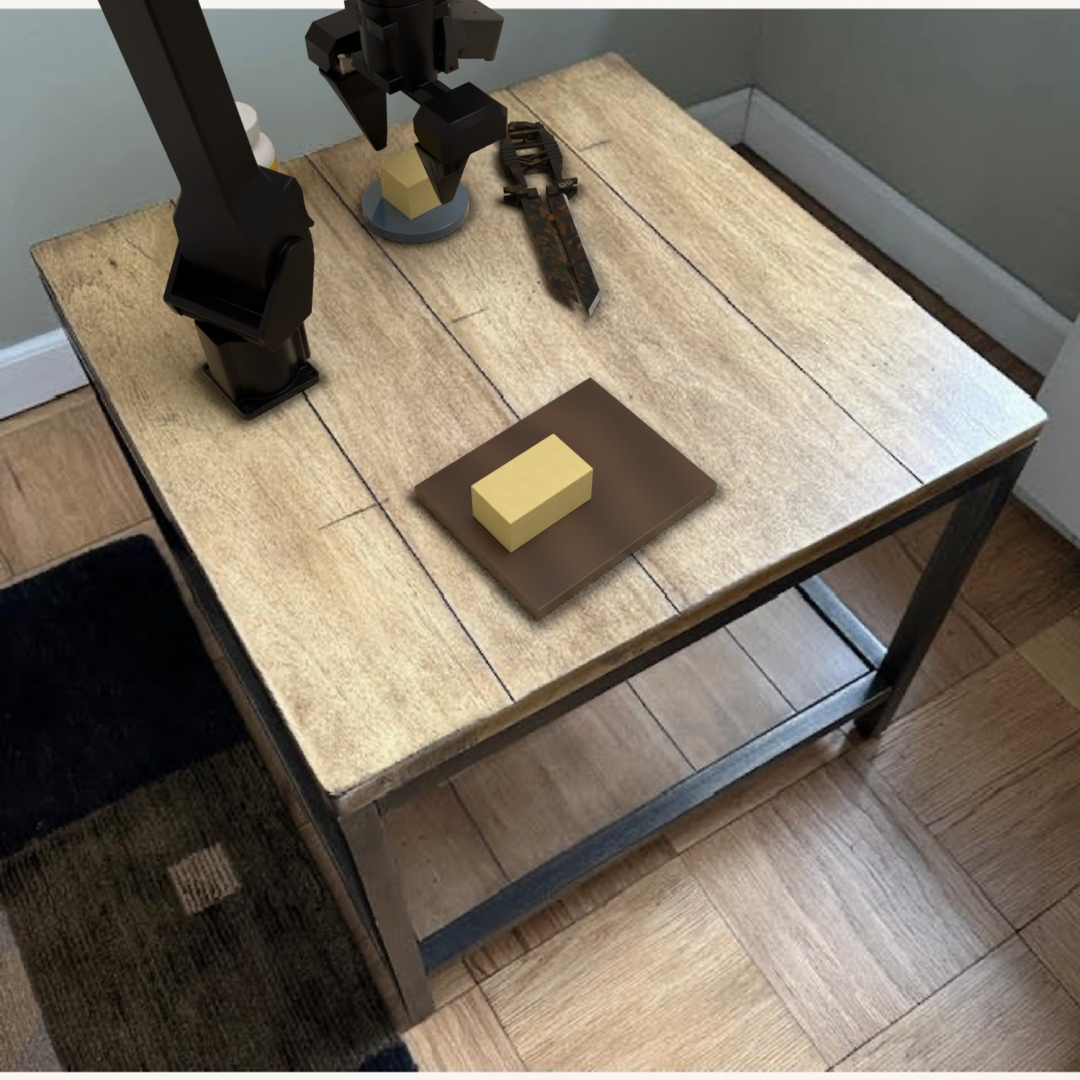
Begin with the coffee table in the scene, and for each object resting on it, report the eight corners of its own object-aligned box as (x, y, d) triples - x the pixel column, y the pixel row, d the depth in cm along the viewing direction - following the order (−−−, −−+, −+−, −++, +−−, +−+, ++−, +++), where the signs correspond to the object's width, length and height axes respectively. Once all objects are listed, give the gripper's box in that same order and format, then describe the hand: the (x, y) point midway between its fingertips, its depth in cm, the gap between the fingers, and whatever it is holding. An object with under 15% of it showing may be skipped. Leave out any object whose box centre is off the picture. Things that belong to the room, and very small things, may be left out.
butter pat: (410, 220, 91) (407, 187, 88) (382, 197, 92) (378, 164, 90) (451, 199, 92) (448, 167, 90) (422, 177, 94) (419, 144, 91)
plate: (404, 258, 89) (403, 248, 89) (341, 204, 93) (340, 194, 93) (490, 213, 93) (490, 203, 92) (426, 163, 97) (425, 153, 96)
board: (537, 621, 69) (537, 611, 68) (415, 497, 75) (413, 486, 74) (715, 494, 75) (717, 483, 74) (589, 388, 81) (590, 376, 80)
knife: (608, 320, 85) (609, 307, 84) (526, 327, 85) (526, 314, 84) (561, 129, 100) (562, 116, 99) (491, 134, 99) (491, 120, 98)
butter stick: (510, 553, 71) (510, 524, 68) (472, 515, 73) (470, 485, 70) (591, 498, 74) (593, 468, 71) (552, 463, 75) (553, 432, 73)
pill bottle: (242, 273, 88) (210, 153, 79) (202, 235, 91) (166, 115, 82) (307, 240, 91) (282, 120, 82) (266, 204, 93) (238, 84, 84)
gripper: (566, 2, 77) (560, 190, 89) (408, -96, 85) (423, 89, 98) (439, 58, 72) (452, 247, 85) (285, -50, 81) (318, 137, 93)
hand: (413, 174), depth 90 cm, fingers open, 9 cm apart
